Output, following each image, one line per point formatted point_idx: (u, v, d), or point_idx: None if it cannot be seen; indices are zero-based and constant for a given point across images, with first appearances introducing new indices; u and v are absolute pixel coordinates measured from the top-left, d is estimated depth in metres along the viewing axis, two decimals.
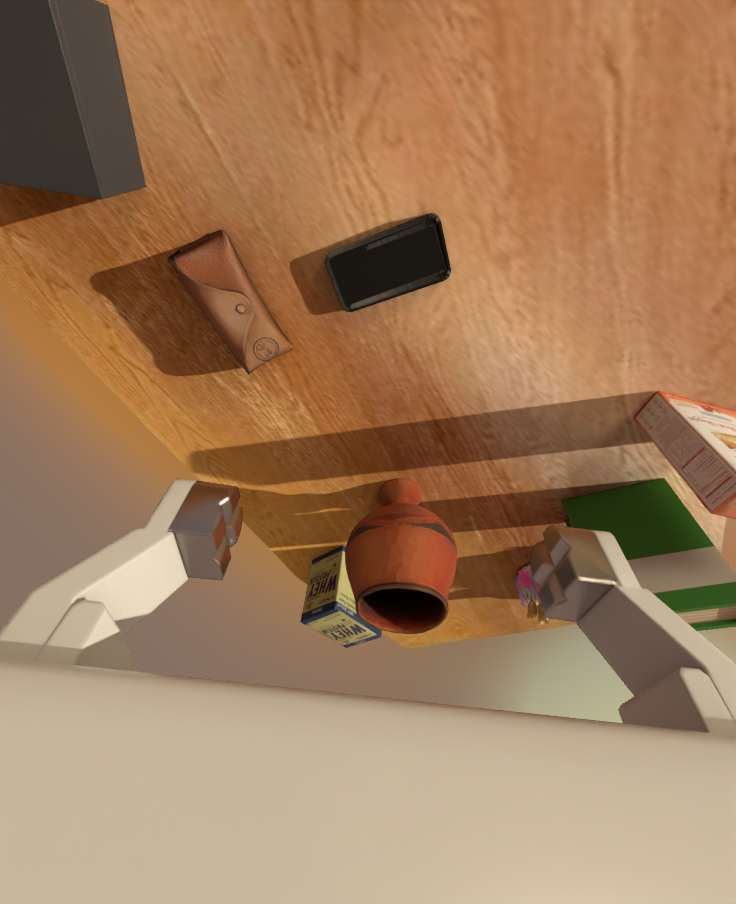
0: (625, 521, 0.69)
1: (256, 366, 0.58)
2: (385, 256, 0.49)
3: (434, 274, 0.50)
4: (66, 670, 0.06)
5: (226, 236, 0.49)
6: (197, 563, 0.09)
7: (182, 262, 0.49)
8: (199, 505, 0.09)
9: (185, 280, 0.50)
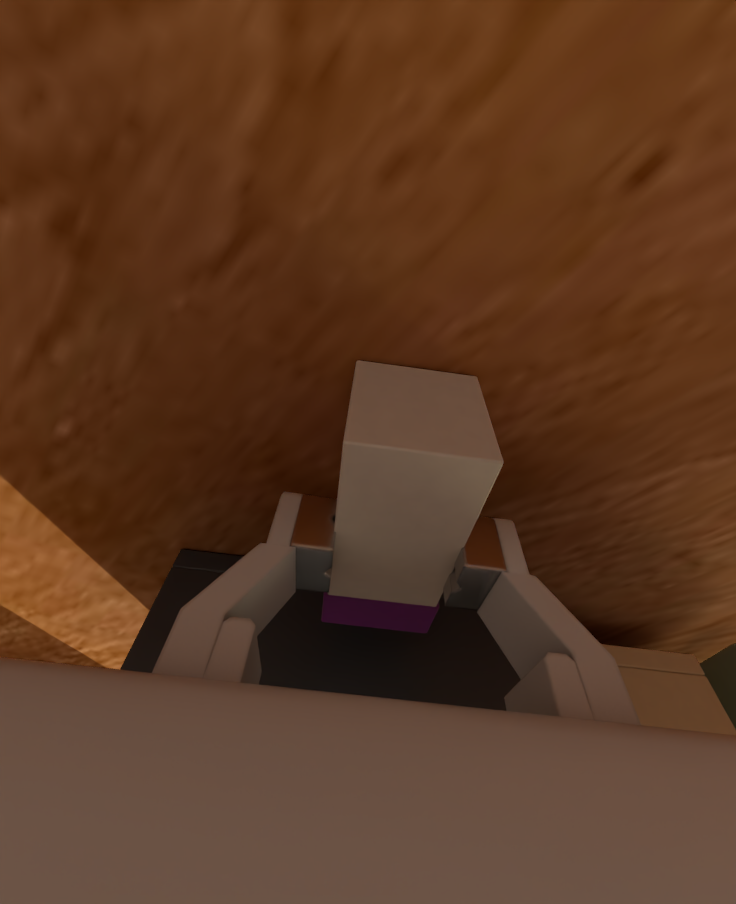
0: None
1: None
2: None
3: None
4: (66, 670, 0.06)
5: None
6: (309, 576, 0.09)
7: None
8: (313, 519, 0.09)
9: None
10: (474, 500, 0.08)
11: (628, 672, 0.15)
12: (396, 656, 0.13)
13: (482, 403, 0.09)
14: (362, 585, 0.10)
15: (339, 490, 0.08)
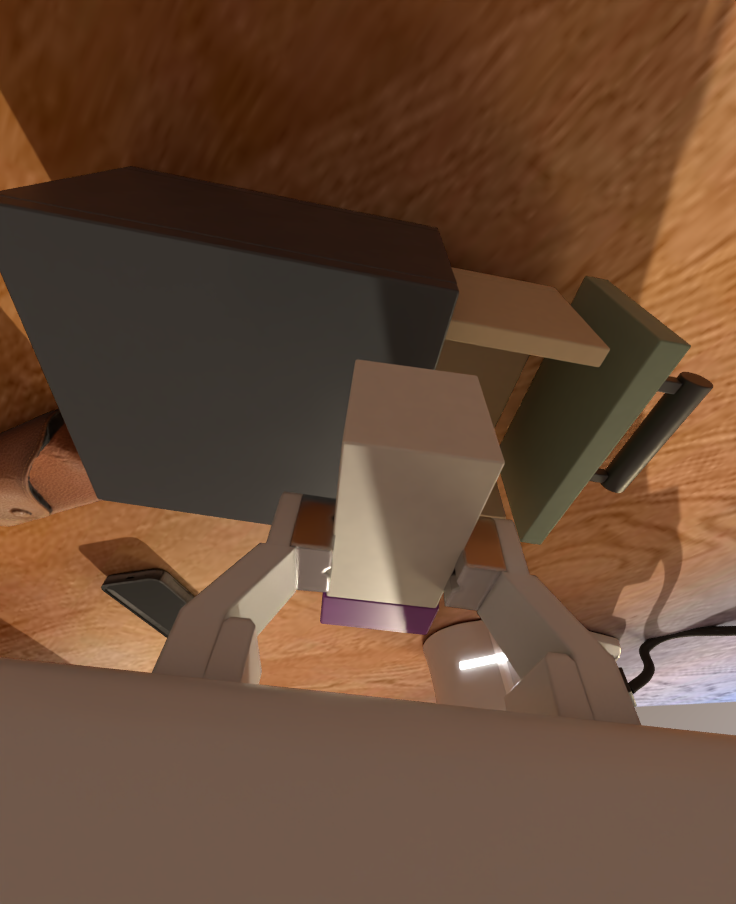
0: None
1: None
2: None
3: None
4: (66, 670, 0.06)
5: None
6: (309, 576, 0.09)
7: (52, 457, 0.26)
8: (313, 519, 0.09)
9: (16, 456, 0.26)
10: (475, 500, 0.08)
11: (495, 281, 0.18)
12: (298, 214, 0.16)
13: (483, 403, 0.09)
14: (361, 586, 0.10)
15: (338, 490, 0.08)
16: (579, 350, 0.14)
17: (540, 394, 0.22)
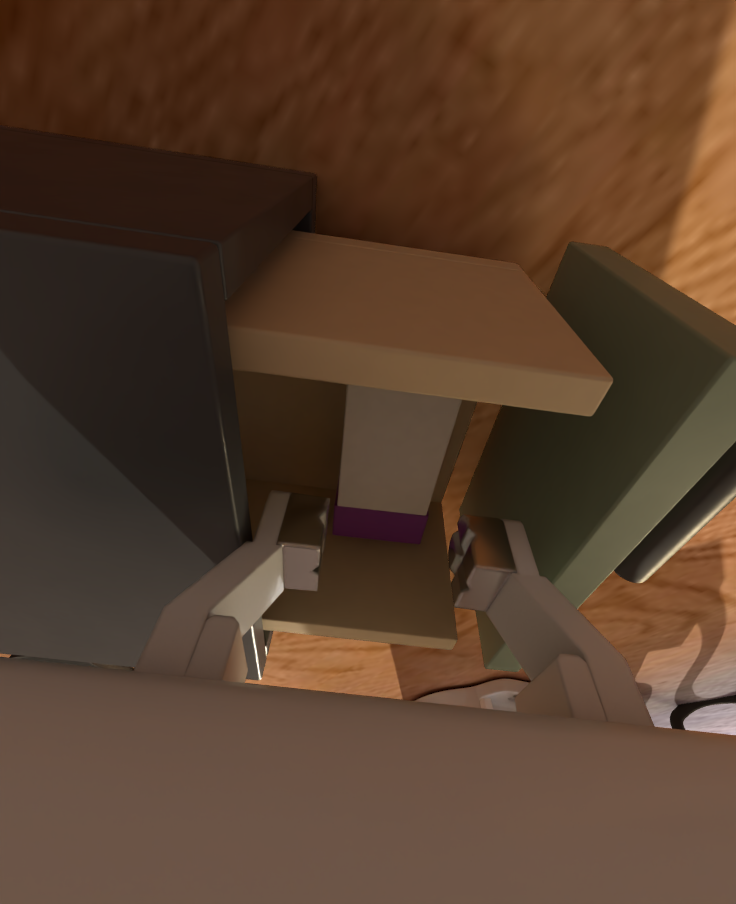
0: None
1: None
2: None
3: None
4: (66, 670, 0.06)
5: None
6: (296, 575, 0.09)
7: None
8: (300, 518, 0.09)
9: None
10: (450, 408, 0.10)
11: (411, 256, 0.11)
12: (22, 146, 0.09)
13: None
14: (365, 495, 0.13)
15: (346, 402, 0.10)
16: (545, 384, 0.07)
17: (510, 435, 0.14)
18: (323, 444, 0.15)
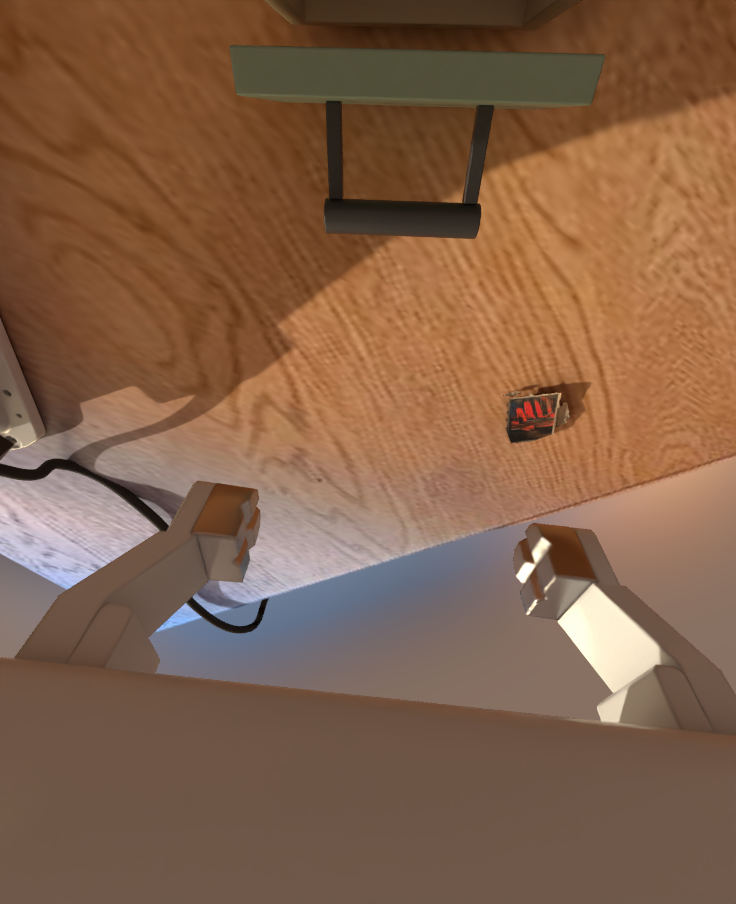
0: None
1: None
2: None
3: None
4: (66, 670, 0.06)
5: None
6: (218, 566, 0.09)
7: None
8: (220, 508, 0.09)
9: None
10: None
11: None
12: None
13: None
14: None
15: None
16: None
17: None
18: None
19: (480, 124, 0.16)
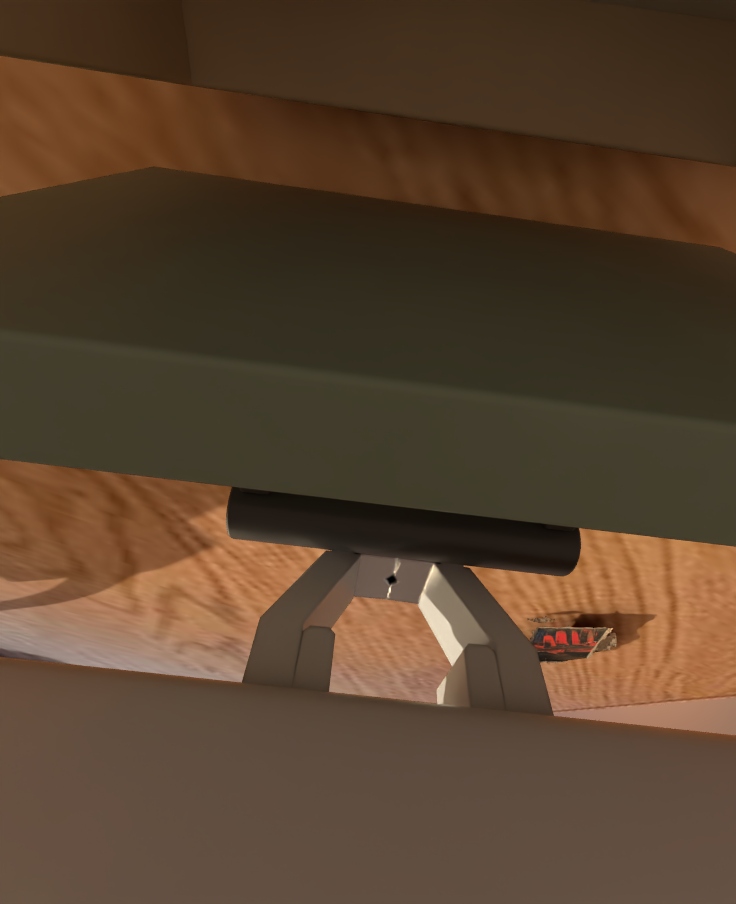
0: None
1: None
2: None
3: None
4: (66, 670, 0.06)
5: None
6: (369, 583, 0.09)
7: None
8: None
9: None
10: None
11: None
12: None
13: None
14: None
15: None
16: None
17: (454, 225, 0.07)
18: None
19: None
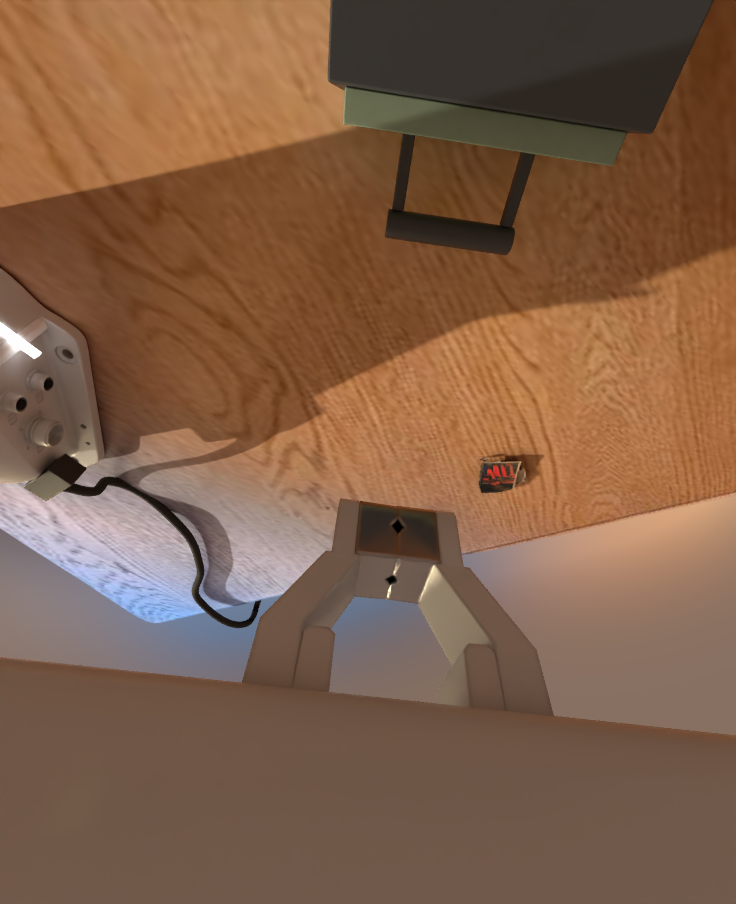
0: None
1: None
2: None
3: None
4: (66, 670, 0.06)
5: None
6: (369, 583, 0.09)
7: None
8: (374, 526, 0.09)
9: None
10: None
11: None
12: None
13: None
14: None
15: None
16: None
17: None
18: None
19: (523, 166, 0.20)
